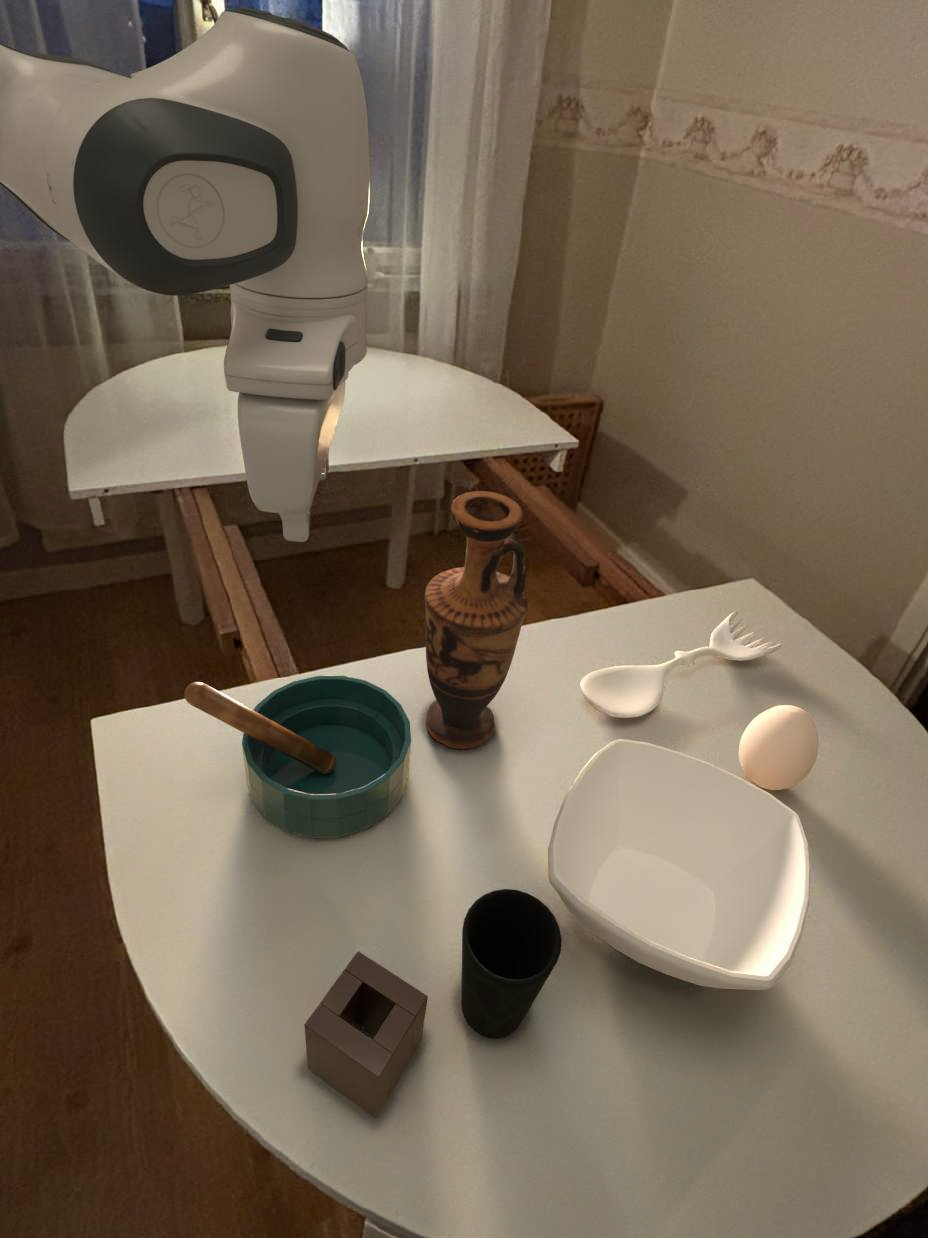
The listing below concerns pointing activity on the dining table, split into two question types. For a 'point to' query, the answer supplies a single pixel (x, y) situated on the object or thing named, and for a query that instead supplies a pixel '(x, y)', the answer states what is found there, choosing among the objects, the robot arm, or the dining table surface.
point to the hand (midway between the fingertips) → (307, 504)
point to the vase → (474, 621)
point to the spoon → (663, 673)
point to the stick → (259, 727)
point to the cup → (505, 959)
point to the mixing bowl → (350, 730)
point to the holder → (349, 1053)
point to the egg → (779, 747)
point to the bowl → (682, 866)
